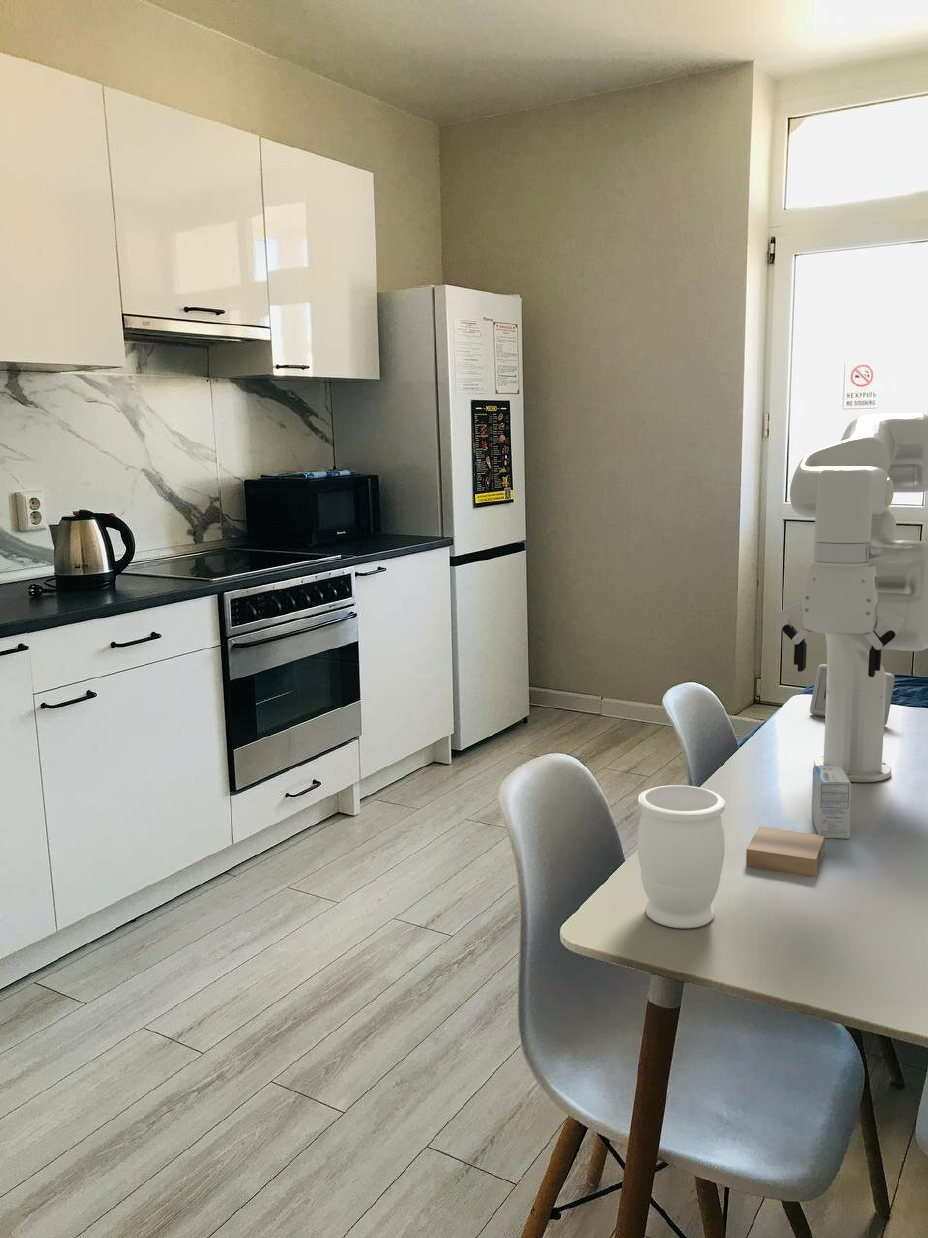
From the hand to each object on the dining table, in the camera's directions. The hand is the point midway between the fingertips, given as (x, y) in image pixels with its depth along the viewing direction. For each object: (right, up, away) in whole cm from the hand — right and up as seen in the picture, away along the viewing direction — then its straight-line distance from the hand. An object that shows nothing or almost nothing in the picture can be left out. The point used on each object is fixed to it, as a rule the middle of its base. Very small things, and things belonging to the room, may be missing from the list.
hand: (836, 672), depth 146 cm
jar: (-27, -29, -22) cm, 45 cm away
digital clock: (+26, -13, +62) cm, 68 cm away
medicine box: (+1, -24, +4) cm, 24 cm away
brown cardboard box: (-9, -26, -6) cm, 28 cm away
